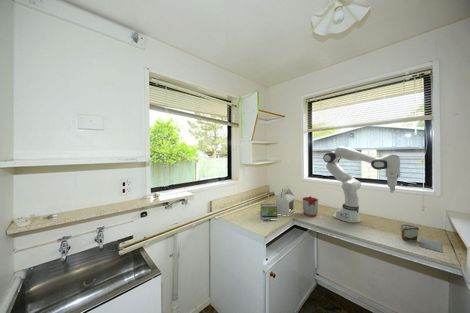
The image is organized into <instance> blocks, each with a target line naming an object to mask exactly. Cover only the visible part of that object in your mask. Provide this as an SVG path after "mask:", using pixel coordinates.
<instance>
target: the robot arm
mask: <svg viewBox="0 0 470 313" xmlns="http://www.w3.org/2000/svg"><path fill="white" fill-rule="evenodd" d="M322 157H323V158H322V159H323V161H324V162H325V163H326V165H325V167H326V169H327V170H328V172H329V173H330V174H331V176H333V177H334V178H335V179H336V180H337V181H338V182H341V183H342V184H341V189H342V191H343V195H344V203H343V204H342V206H341V207H340V208H339V209H337V210H336V212H335V213H334V214H333V218H335V219H337V220H341V221H343V222H347V223H360V222H361V218H360V205H359V197H358V193H357V190H360V188H361V186H362V185H361V184H362V183H361V182H360V180H358V179H356V178H355V177H353V176H352V175H350V174H349V173H348V172H346V171H345V170H344V169H343V168H342V167H341V166H340V165H339V164H338V163H340V160H341V159H344V160H347V161H351V162H352V161H353V162H354V161H355V162H356V161H357V162H365V163H368V164H370V166H371V168H373V169H374V170H379V171H380V170H385V178H386V181H387V187H388V188H389V191H390V193H394V192H395V191H396V187H397V185H398V180H399V178H401V169H400V168H401V159H400V156H399V155H396V154H391V153H390V154H386V155H384V156H382V157H376V156H373V155H369V154H365V153H363V152H361V151H357V150H355V149H354V148H350V147H347V146H346V147H345V146H337V147H336V149H335V150H334V151H333V150H332V151H330V152H327V153H325V154H324V155H323V156H322Z"/></svg>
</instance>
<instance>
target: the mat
mask: <svg viewBox="0 0 470 313" xmlns="http://www.w3.org/2000/svg"><path fill="white" fill-rule="evenodd" d="M419 247H420V248H422V249H423V248H425V249H428V250H431V251H434V252H439V253H443V245H442V243H441V242H438V241H435V240H431V239H426V238H422V237H420V241H419Z"/></svg>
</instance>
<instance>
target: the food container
mask: <svg viewBox="0 0 470 313" xmlns="http://www.w3.org/2000/svg"><path fill="white" fill-rule="evenodd" d="M399 229H400V234H401V240H402V241H404V242H415V241H416V242H417V241H418V236H419V230H420V228H419V227H418V226H415V225H411V224H401V225H400V226H399Z"/></svg>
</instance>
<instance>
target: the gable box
mask: <svg viewBox="0 0 470 313" xmlns="http://www.w3.org/2000/svg"><path fill="white" fill-rule="evenodd" d="M275 205H276V206H277V214H281V215H286V216H288V215H289V214H291V213H292V212H293V211H294V210H296V209H295V208H296V207H295V205H296V204H295V195H294V193H293V192H292V191H291V189H290V187H289V186H285V187H283V188H282V190H281V191H280V192H279V194H278V195H277V197H276V198H275ZM289 209H291V211H290V212H289ZM294 212H295V211H294ZM294 212H293V213H294ZM293 213H292V214H293ZM292 214H291V215H292ZM281 215H280V216H281ZM289 216H290V215H289ZM289 216H288V217H289Z"/></svg>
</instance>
